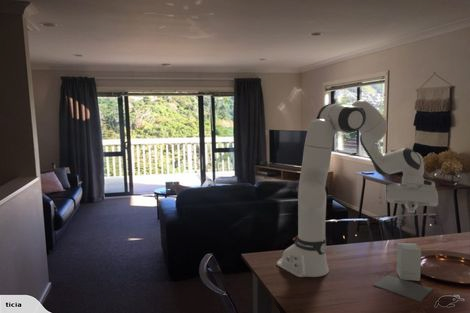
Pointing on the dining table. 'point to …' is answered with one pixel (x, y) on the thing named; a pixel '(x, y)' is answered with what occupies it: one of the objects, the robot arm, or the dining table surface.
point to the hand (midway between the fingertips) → (411, 212)
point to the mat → (403, 287)
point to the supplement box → (408, 261)
